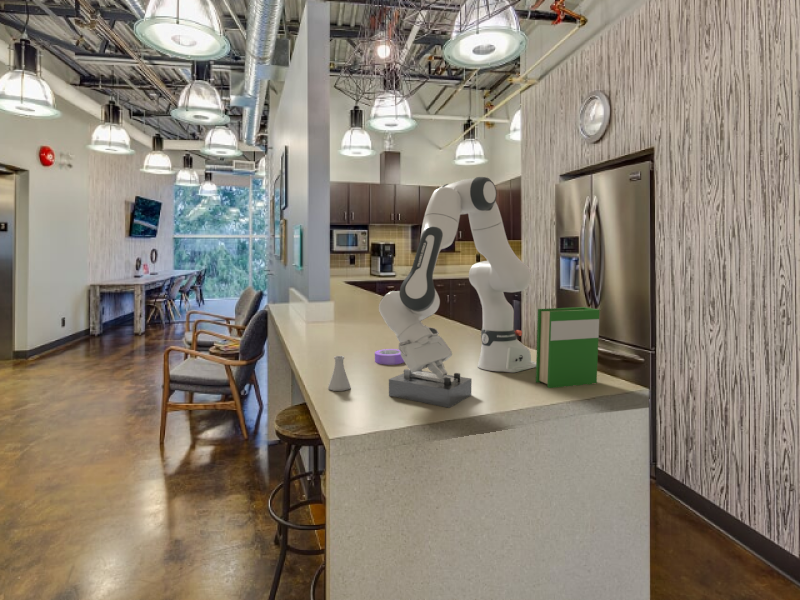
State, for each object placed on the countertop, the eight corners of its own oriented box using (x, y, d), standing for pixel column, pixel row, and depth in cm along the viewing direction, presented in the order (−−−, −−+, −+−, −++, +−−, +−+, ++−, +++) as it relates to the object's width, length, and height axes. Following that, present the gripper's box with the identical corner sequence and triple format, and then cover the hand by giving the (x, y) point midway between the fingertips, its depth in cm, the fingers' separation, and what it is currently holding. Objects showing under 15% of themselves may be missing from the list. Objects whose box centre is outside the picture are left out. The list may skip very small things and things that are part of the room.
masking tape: (378, 366, 179) (378, 355, 178) (371, 359, 190) (371, 349, 189) (408, 363, 182) (408, 354, 182) (399, 357, 193) (399, 348, 193)
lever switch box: (388, 395, 141) (388, 370, 140) (413, 384, 152) (414, 361, 152) (449, 407, 130) (449, 380, 129) (471, 395, 141) (471, 370, 141)
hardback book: (549, 388, 149) (551, 311, 146) (535, 381, 156) (537, 309, 153) (596, 383, 154) (599, 309, 152) (581, 377, 161) (584, 307, 159)
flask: (332, 393, 144) (331, 360, 143) (324, 387, 150) (324, 355, 149) (354, 389, 147) (354, 357, 146) (346, 384, 153) (345, 353, 152)
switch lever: (407, 376, 142) (407, 371, 142) (414, 373, 146) (414, 369, 146) (451, 385, 134) (451, 380, 134) (457, 382, 138) (457, 377, 138)
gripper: (402, 336, 132) (432, 377, 127) (439, 328, 149) (466, 363, 144) (389, 350, 135) (417, 390, 130) (426, 340, 152) (452, 375, 147)
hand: (443, 376), depth 137 cm, fingers closed, pressing on switch lever
